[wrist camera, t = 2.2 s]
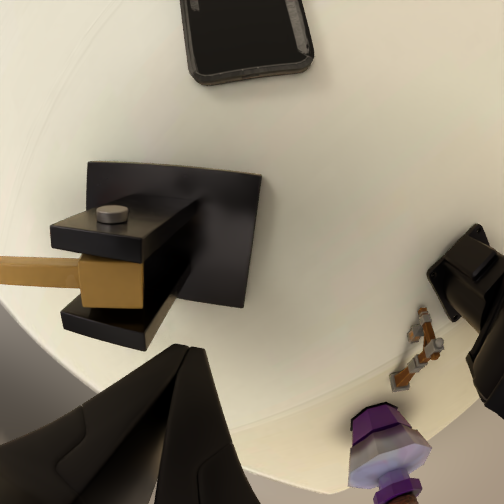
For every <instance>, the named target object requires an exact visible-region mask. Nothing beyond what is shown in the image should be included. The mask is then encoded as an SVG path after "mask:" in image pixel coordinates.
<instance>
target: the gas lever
mask: <svg viewBox="0 0 504 504" xmlns="http://www.w3.org/2000/svg"><path fill="white" fill-rule="evenodd" d="M0 284H7V285H22V286H39V287H58V288H80V291H81V299H82V306H83V307H92V308H126V309H142V308H143V296H144V262H143V263H142V264H139V263H133V262H127V261H121V260H116V259H110V258H104V257H98V256H93V255H87V254H82V255H81V256H80V258H79V259H76V258H42V257H11V256H0Z"/></svg>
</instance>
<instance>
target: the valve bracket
mask: <svg viewBox="0 0 504 504" xmlns="http://www.w3.org/2000/svg"><path fill="white" fill-rule="evenodd" d="M261 179H262V175H261V174H255V173H247V172H239V171H231V170H222V169H213V168H203V167H193V166H182V165H169V164H155V163H139V162H118V161H90V162H88V166H87V190H86V211H84V212H82V213H79V214H77V215H74V216H72V217H69V218H67V219H64V220H62V221H59V222H57V223H54V224H52V225H50V236H51V247H52V248H55V249H60V250H66V251H71V252H76V253H82V254H87V255H93V256H98V257H104V258H110V259H116V260H121V261H127V262H133V263H139V264H142V263H143V262H144V296H143V308H142V309H126V308H92V307H83V306H82V299H81V294H80V295H78V296H77V297H76V298H75V299H74V300H73V301H72V302H70V303H69V304H68V305H67V306H66V307H65V308H64V309H63V310H61V312H60V313H61V318H62V323H63V328H64V329H66V330H69V331H72V332H75V333H78V334H81V335H85V336H88V337H91V338H95V339H98V340H102V341H105V342H109V343H112V344H116V345H120V346H124V347H128V348H132V349H136V350H140V351H146V350H147V348H148V347H149V345H150V343H151V341H152V339H153V338H154V336H155V334H156V332H157V331H158V329H159V327H160V325H161V323H162V322H163V320H164V318H165V316H166V315H167V313H168V311H169V310H170V308H171V306H172V304H173V303H174V301H175V299H176V298H179V299H185V300H191V301H197V302H203V303H209V304H216V305H223V306H229V307H236V308H244V301H245V294H246V287H247V279H248V272H249V265H250V258H251V251H252V244H253V236H254V229H255V222H256V215H257V208H258V201H259V193H260V186H261Z"/></svg>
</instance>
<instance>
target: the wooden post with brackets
mask: <svg viewBox="0 0 504 504" xmlns="http://www.w3.org/2000/svg"><path fill="white" fill-rule="evenodd" d="M418 314H419V317H420V319H419V320H420V324H418V325H417V326H411V328H412V330H411V331H410V332H409V333H407V335H408V341H409V342H410V343H413V342H419V339H420V337H421V336H424V344H423V351H422V353H420V354H418V355H416V356H414V357H415V358H413V359H412V360H411V361H410V362H409V363H408V364H407V365H408V366H407V367H406V368H405V369H404V370H403V371H401V372H400V373H393V374H391V375H389V377H390V382H391V388H392V392H397V391H404V390H409V388H410V385H409V381H410V380H411V378H412V377H413V375H414V374H415V373H417V372H419V371H420V370H421V369H422V368H423V367H425V365H427V364H428V361H429V360H430V359H431V360H437V359H438V358H439V356H440V352H441V351H442V350H444V346H443V344H444V340H443V339H442V338H437V339H436V338H435V334H434V331H433V328H432V325H431V322H432V320H431V317H430V314H428V311H427V308H420V309H419V311H418ZM423 330H424V332H423Z"/></svg>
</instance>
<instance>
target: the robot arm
mask: <svg viewBox="0 0 504 504" xmlns="http://www.w3.org/2000/svg"><path fill="white" fill-rule="evenodd" d="M477 229H478V231H477ZM433 273H434V275H433V276H432V274H433ZM427 278H428V280H429V281H430V283H431V285H432V287H433V289H434V290H435V292H436V294H437V296H438V298H439V300H440V302H441V304H442V305H443V307H444V309H445V311H446V313H447V315H448V317H449V319H450V320H451V321H452V322H456V321H457V320H458V319H459V318H460V317H463V318H464V319H465V320H466V321H467V322H468V323H469V324H470V325H471V326H472V327H473V328H474V329H475V330H476V331H477V332H478V333H479V336H478V338H477V340H476V342H475V344H474V346H473V348H472V349H471V351H470V352H469V353H468V355H467V357H466V361H467V363H468V366H469V369H470V371H471V374H472V377H473V383H474V386H475V387H476V389H477V392H478V394H479V397H480V398H481V400H482V402H484V405H485V407H487V408H488V409H490V410H492V411H494V412H495V413H497V414H498V415H499V416H500V417H502V418H503V419H504V255H502V254H500V253H499V252H497V251H496V250H495V249H493V248H491V247H490V245H489V242H488V240H487V237H486V235H485V232H484V230H483V227H482V226H481V225H479V224H475V225H473V226H472V228H471V229H470V230H469V231H468V232H467V233H466V234H465V235H464V236H463V237H462V238H461V239H460V240H459V241H458V242H457V243H456V244H455V245H454V246H453V247H452V248H451V249H450V250H449V251H448V252H447V253H446V254H445V255H444V256H443V257H442V258H441V259H440V260H438V261H437V262H436V263H435V264H434V265H433V266H432V267H431V268H430V269H429V270H428V272H427ZM454 316H455V317H454ZM157 479H158V480H157ZM156 481H157V488H156V495H155V502H154V504H260V502H259V500H258V499H257V497H256V495H255V494H254V492H253V490H252V488H251V486H250V484H249V482H248V480H247V478H246V476H245V474H244V472H243V469H242V466H241V464H240V461H239V459H238V456H237V453H236V450H235V448H234V445H233V444H232V439H231V436H230V433H229V430H228V427H227V423H226V420H225V417H224V414H223V411H222V407H221V404H220V401H219V397H218V394H217V390H216V387H215V383H214V380H213V376H212V373H211V369H210V366H209V362H208V358H207V354H206V351H205V349H203V348H197V347H190V348H189V347H188V346H186V345H181V344H173V345H171V346H170V347H168V348H167V349H165V350H164V351H162V352H161V353H159V354H158V355H156V356H155V357H153V358H152V359H150V360H149V361H147V362H146V363H144V364H143V365H141V366H140V367H138V368H137V369H135V370H134V371H132V372H131V373H129V374H128V375H126V376H125V377H123V378H122V379H120V380H119V381H117V382H116V383H114V384H113V385H111V386H110V387H108V388H107V389H105V390H103V391H102V392H100V393H99V394H97V395H96V396H94V397H93V398H91V399H90V400H88V401H86V402H85V403H83V404H82V406H78V407H77V408H75V409H74V410H72V411H71V412H69V413H67V414H65V415H64V416H62V417H60V418H58V419H57V420H55V421H53V422H52V423H49V424H47V425H45V426H43V427H41V428H39V429H37V430H35V431H33V432H30V433H28V434H26V435H24V436H21V437H19V438H16V439H14V440H12V441H10V442H7V443H5V444H2V445H0V504H148V503H149V501H150V498H151V495H152V492H153V489H154V487H155V484H156Z"/></svg>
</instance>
